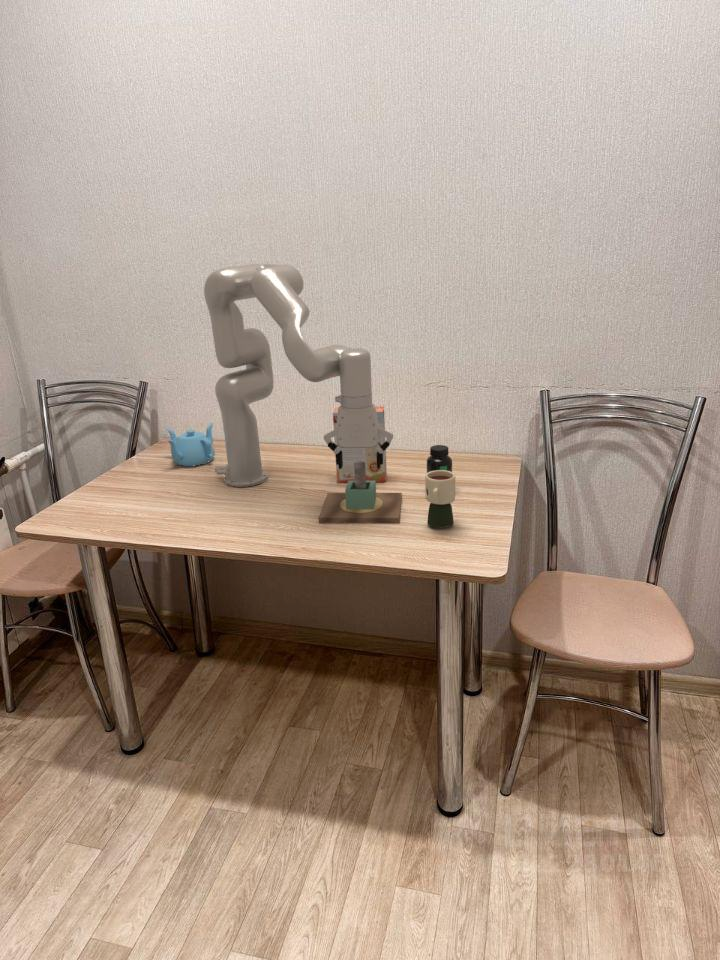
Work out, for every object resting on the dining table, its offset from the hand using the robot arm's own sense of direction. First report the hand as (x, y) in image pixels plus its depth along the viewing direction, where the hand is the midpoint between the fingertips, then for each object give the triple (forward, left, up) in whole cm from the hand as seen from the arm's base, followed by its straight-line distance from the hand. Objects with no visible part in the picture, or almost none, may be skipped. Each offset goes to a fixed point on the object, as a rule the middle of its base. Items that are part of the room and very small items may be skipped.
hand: (359, 467), depth 174 cm
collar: (0, 0, -10) cm, 10 cm away
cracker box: (-2, +22, -12) cm, 25 cm away
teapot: (-58, +39, -12) cm, 71 cm away
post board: (0, 0, -12) cm, 12 cm away
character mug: (+20, -9, -12) cm, 25 cm away
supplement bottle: (+20, +14, -12) cm, 27 cm away
